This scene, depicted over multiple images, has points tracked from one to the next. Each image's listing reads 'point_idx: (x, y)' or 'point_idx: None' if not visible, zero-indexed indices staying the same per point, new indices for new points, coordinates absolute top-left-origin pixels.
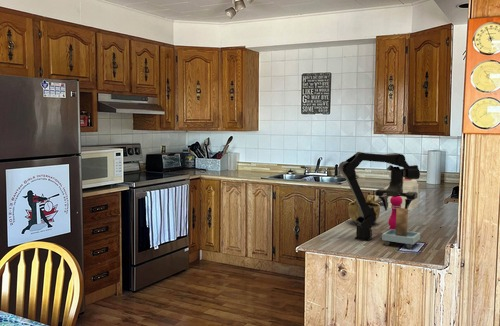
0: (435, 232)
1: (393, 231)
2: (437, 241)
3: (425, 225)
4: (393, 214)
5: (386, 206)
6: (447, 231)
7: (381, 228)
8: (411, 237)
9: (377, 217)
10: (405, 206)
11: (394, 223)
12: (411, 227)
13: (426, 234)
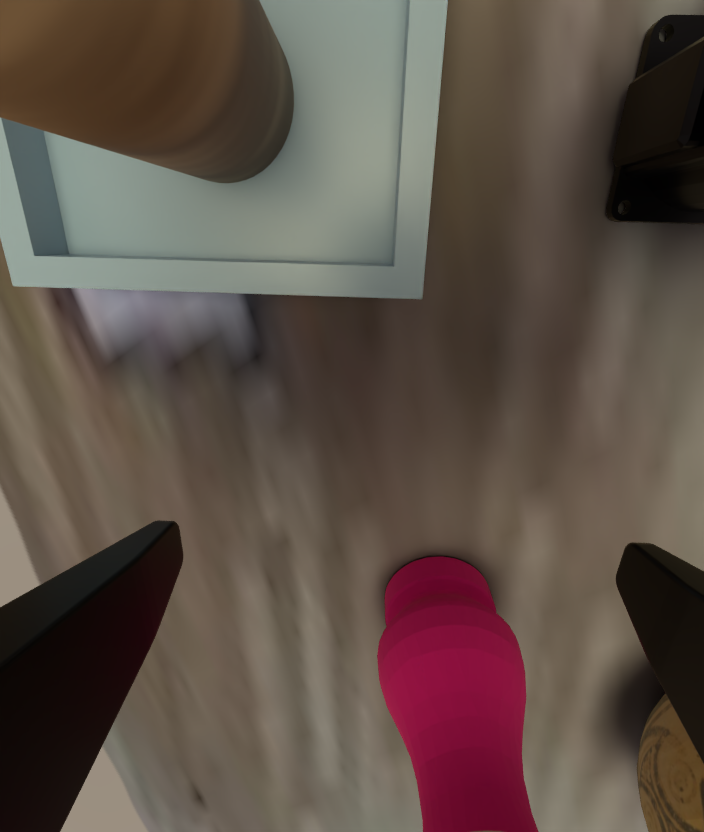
0: (169, 684)
1: (369, 264)
2: (35, 454)
3: (291, 803)
4: (489, 733)
5: (699, 648)
6: (119, 733)
7: (561, 629)
8: (109, 172)
9: (648, 763)
10: (22, 629)
11: (447, 616)
12: (355, 735)
13: (197, 612)
